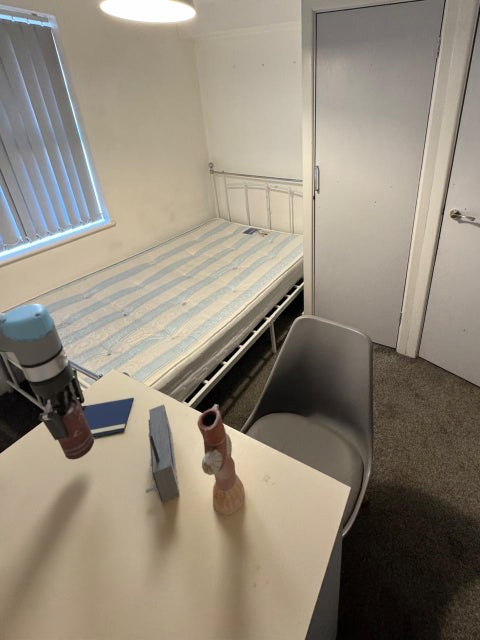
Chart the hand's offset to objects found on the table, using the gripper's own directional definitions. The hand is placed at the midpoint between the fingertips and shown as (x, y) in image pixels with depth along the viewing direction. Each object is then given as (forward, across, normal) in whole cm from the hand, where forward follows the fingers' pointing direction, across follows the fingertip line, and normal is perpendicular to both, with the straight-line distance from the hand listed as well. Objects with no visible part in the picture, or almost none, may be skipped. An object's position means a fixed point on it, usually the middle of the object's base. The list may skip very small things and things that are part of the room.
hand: (79, 438), depth 80 cm
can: (+2, -1, 0) cm, 2 cm away
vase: (+8, -18, -35) cm, 40 cm away
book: (+8, +12, 0) cm, 14 cm away
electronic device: (+8, -6, -19) cm, 21 cm away
